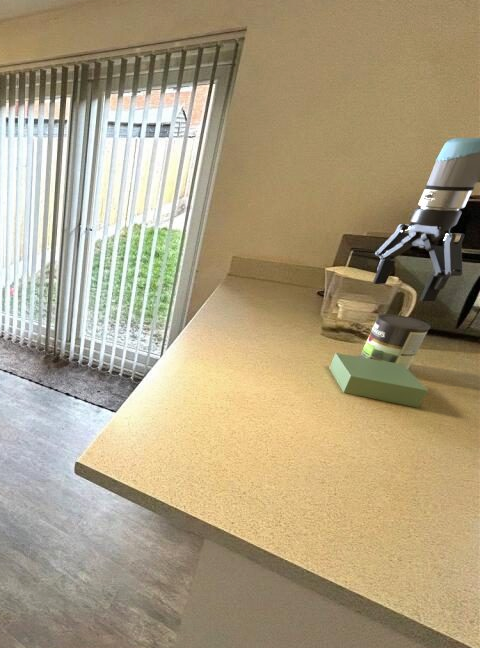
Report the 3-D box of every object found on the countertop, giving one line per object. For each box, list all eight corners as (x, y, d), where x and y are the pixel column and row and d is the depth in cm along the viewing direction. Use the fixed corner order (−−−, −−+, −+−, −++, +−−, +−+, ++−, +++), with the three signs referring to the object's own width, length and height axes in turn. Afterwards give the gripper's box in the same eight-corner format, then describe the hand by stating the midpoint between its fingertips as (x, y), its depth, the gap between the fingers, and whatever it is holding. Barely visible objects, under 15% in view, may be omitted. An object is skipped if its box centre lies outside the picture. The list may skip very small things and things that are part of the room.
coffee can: (366, 369, 111) (386, 324, 106) (352, 354, 120) (371, 311, 114) (415, 377, 107) (439, 331, 102) (397, 360, 116) (419, 317, 110)
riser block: (395, 380, 106) (403, 364, 104) (418, 407, 95) (427, 390, 93) (329, 368, 112) (335, 352, 110) (343, 392, 101) (350, 376, 99)
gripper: (377, 202, 106) (348, 277, 114) (478, 216, 83) (432, 308, 91) (407, 202, 105) (376, 277, 113) (518, 216, 82) (468, 309, 91)
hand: (401, 291), depth 102 cm, fingers open, 13 cm apart
